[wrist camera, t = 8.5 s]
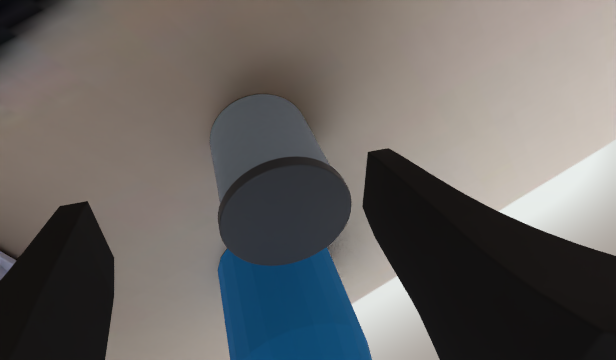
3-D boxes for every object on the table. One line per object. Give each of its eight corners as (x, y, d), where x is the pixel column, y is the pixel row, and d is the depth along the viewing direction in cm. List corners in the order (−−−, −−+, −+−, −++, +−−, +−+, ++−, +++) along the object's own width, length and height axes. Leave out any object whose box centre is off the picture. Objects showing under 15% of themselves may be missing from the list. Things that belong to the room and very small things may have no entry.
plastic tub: (241, 196, 23) (262, 283, 18) (182, 127, 19) (190, 213, 15) (325, 148, 23) (369, 225, 18) (281, 69, 19) (321, 139, 14)
